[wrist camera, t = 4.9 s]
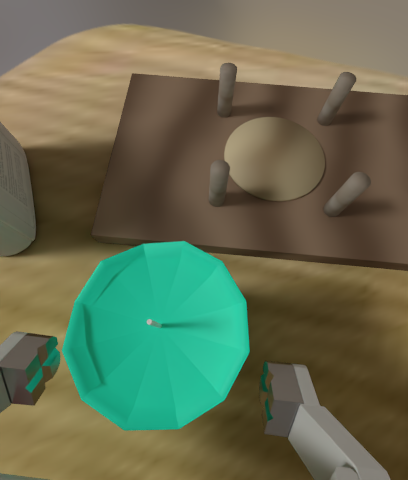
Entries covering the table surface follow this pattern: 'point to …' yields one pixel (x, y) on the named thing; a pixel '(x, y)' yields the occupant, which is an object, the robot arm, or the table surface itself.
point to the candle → (157, 336)
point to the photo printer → (15, 197)
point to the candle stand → (260, 170)
